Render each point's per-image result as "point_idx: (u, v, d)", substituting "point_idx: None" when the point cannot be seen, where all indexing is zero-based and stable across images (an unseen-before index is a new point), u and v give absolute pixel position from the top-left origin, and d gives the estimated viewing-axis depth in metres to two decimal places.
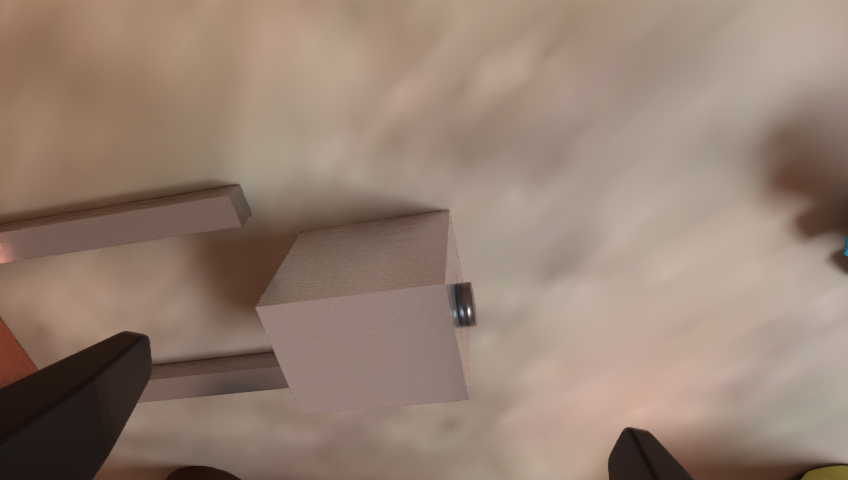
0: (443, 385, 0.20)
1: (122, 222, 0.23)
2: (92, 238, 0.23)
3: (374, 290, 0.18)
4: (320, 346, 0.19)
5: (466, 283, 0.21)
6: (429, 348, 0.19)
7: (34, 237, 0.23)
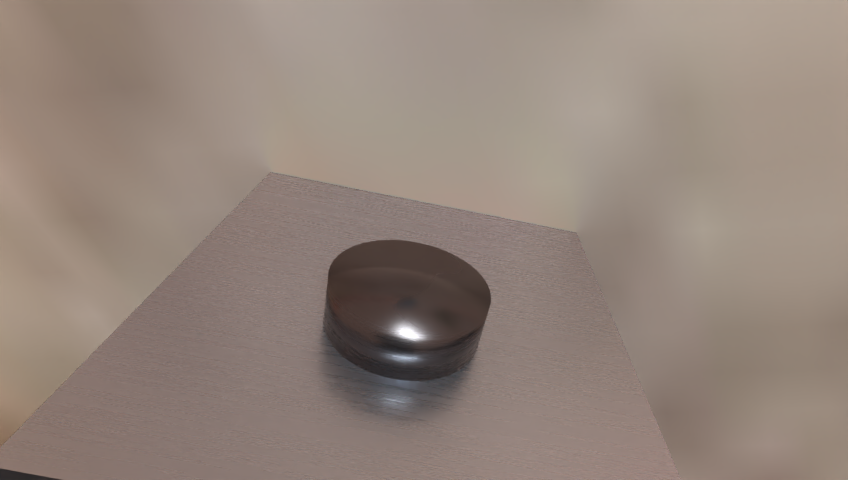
0: None
1: None
2: None
3: None
4: None
5: None
6: None
7: None
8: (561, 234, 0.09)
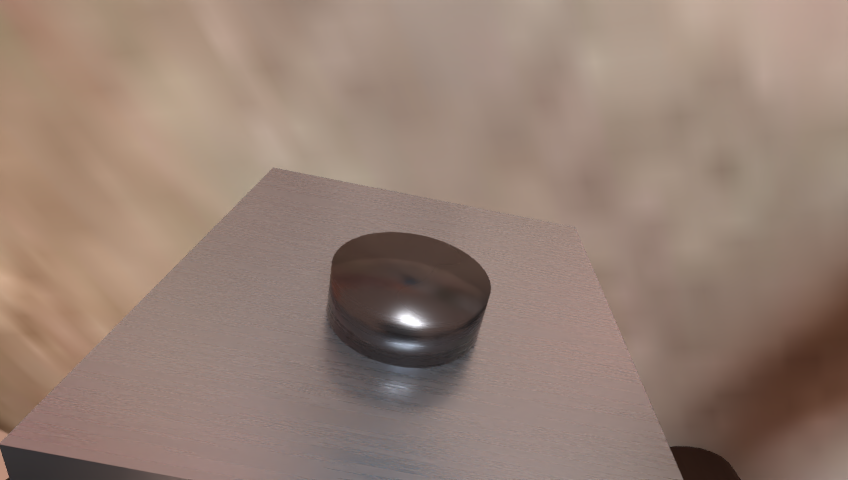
0: None
1: None
2: None
3: None
4: None
5: None
6: None
7: None
8: (560, 228, 0.09)
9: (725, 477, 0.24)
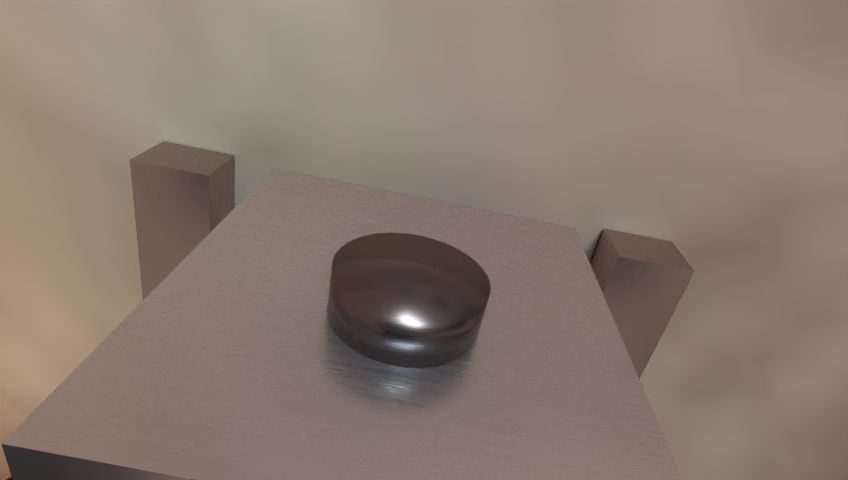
0: None
1: None
2: None
3: None
4: None
5: None
6: None
7: None
8: (559, 229, 0.09)
9: None
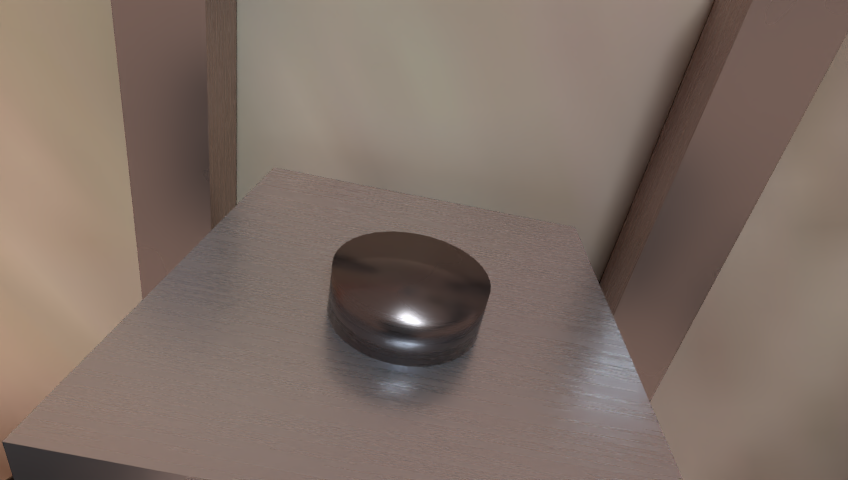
0: None
1: (154, 195, 0.10)
2: None
3: None
4: None
5: None
6: None
7: None
8: (559, 228, 0.09)
9: None
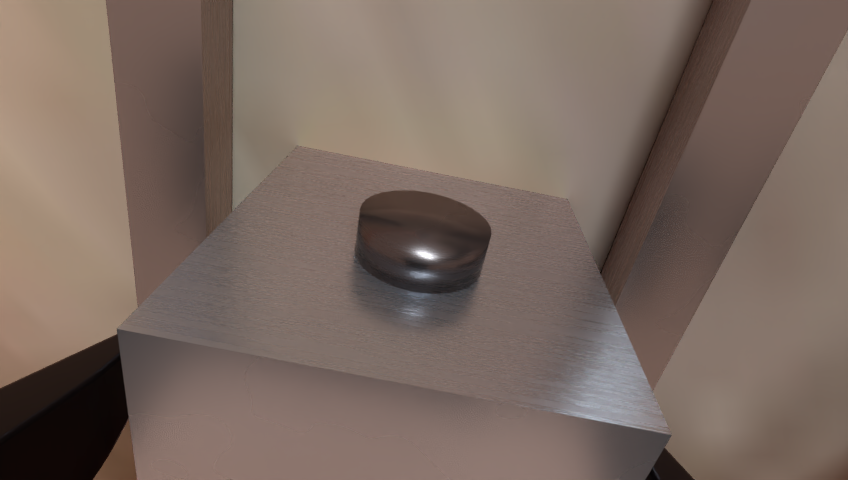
0: (559, 478, 0.05)
1: (134, 10, 0.08)
2: (173, 128, 0.09)
3: None
4: None
5: None
6: (382, 454, 0.05)
7: (156, 257, 0.10)
8: (553, 197, 0.10)
9: None
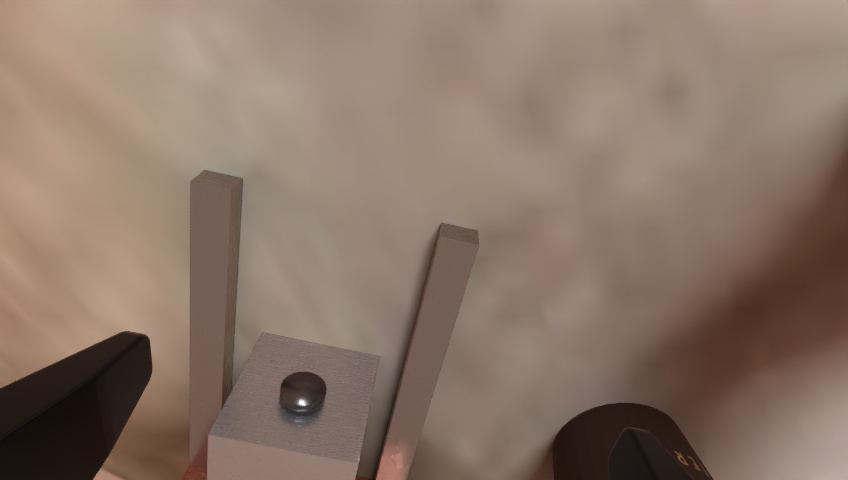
0: (332, 475, 0.19)
1: (200, 299, 0.21)
2: (212, 335, 0.22)
3: (208, 476, 0.20)
4: None
5: None
6: (282, 468, 0.19)
7: (200, 380, 0.23)
8: (372, 356, 0.24)
9: (668, 432, 0.23)
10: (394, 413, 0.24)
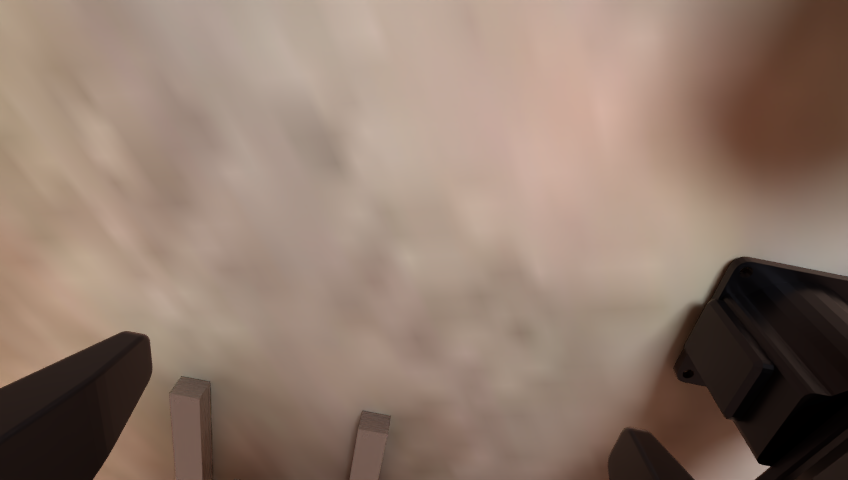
0: None
1: (182, 465, 0.28)
2: None
3: None
4: None
5: None
6: None
7: None
8: None
9: None
10: None
